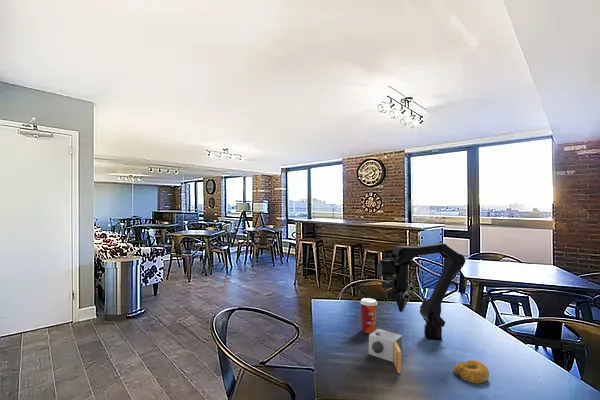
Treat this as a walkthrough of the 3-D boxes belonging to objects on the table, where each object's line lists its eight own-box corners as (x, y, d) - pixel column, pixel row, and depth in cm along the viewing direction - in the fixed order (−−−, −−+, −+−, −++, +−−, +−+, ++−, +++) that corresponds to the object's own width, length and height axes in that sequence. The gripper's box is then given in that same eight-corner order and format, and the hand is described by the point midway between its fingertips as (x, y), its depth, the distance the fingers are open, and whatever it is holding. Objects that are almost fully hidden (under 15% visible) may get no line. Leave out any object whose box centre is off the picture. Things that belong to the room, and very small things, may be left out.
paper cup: (372, 335, 149) (372, 303, 149) (356, 331, 153) (357, 300, 153) (379, 330, 155) (380, 299, 155) (364, 326, 160) (365, 296, 160)
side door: (400, 373, 116) (401, 351, 116) (397, 373, 116) (397, 351, 116) (395, 362, 124) (396, 340, 124) (392, 361, 124) (392, 340, 124)
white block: (378, 347, 137) (378, 327, 137) (401, 354, 130) (402, 334, 130) (367, 355, 129) (367, 334, 129) (391, 363, 123) (392, 341, 123)
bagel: (457, 365, 122) (457, 352, 122) (491, 376, 116) (491, 362, 115) (449, 377, 115) (450, 363, 114) (486, 389, 108) (486, 374, 108)
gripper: (392, 269, 157) (392, 302, 157) (374, 276, 143) (374, 312, 143) (416, 273, 150) (416, 307, 150) (400, 280, 136) (399, 319, 136)
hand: (401, 311), depth 145 cm, fingers closed
